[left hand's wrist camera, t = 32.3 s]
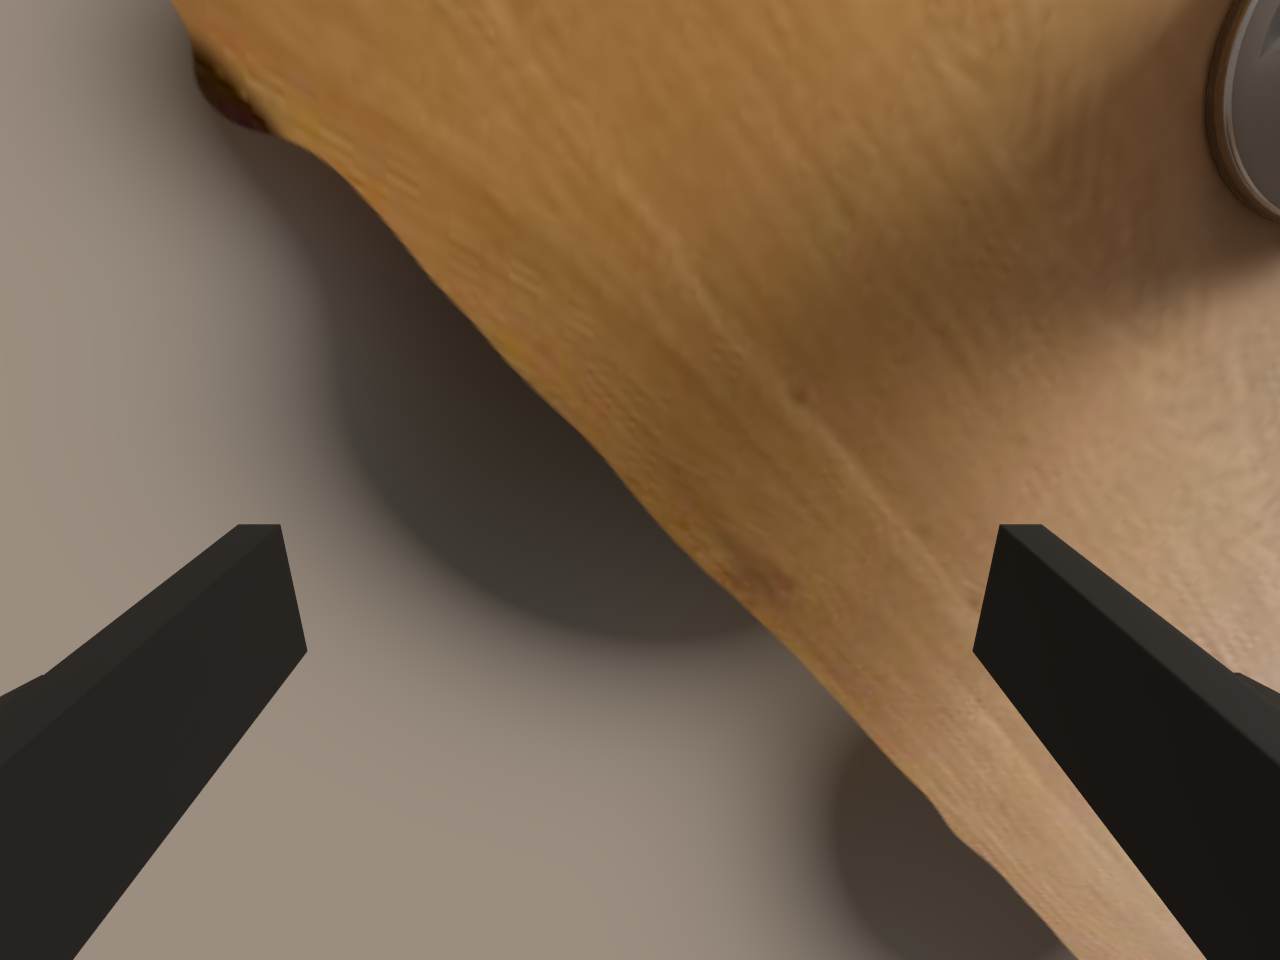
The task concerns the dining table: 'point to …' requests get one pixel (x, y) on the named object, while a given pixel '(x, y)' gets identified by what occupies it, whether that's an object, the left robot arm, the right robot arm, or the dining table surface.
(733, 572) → the dining table surface
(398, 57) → the dining table surface
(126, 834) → the left robot arm
